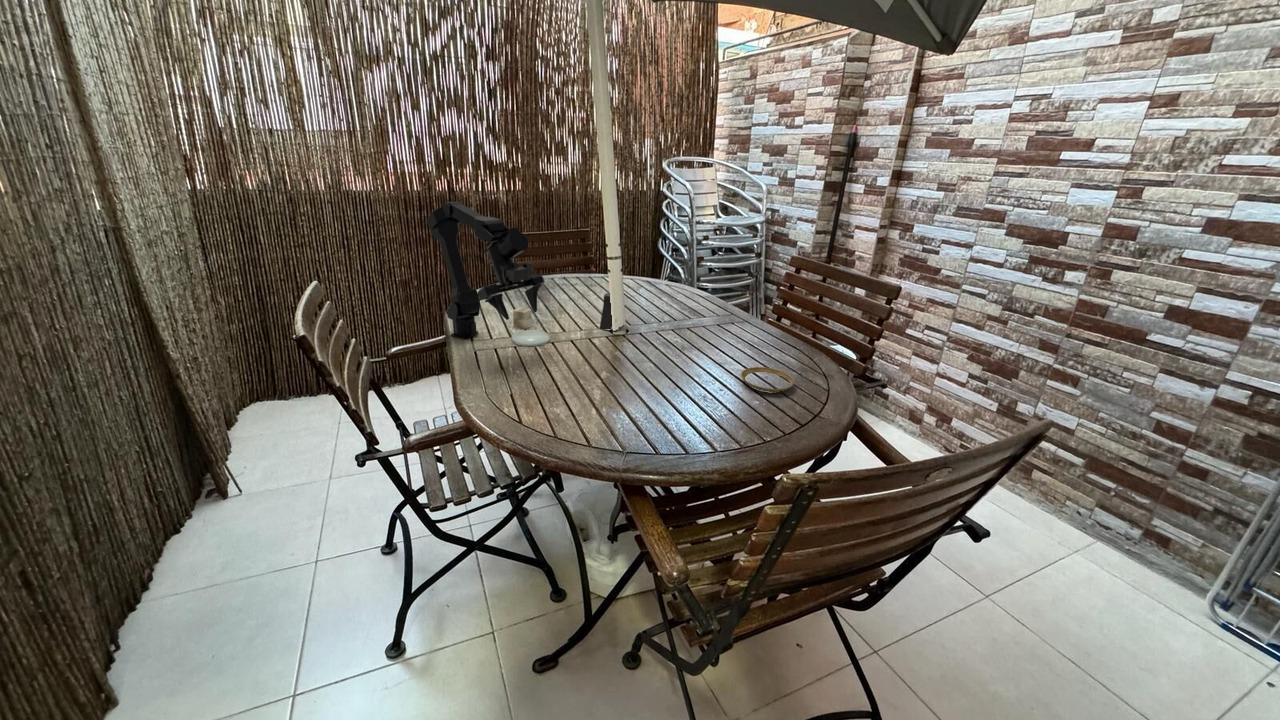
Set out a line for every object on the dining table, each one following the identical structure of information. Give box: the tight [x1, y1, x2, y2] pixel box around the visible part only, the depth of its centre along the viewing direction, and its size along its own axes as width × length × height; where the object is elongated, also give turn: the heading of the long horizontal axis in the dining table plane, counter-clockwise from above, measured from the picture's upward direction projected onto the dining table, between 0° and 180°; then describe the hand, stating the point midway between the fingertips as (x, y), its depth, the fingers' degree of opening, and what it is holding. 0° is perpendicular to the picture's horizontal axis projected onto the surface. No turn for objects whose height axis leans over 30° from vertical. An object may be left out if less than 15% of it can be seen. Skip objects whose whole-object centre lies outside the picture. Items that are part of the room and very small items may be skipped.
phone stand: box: [599, 293, 612, 330], centre depth 181 cm, size 9×6×12 cm, turn 161°
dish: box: [511, 329, 550, 347], centre depth 167 cm, size 12×12×1 cm
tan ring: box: [740, 366, 795, 392], centre depth 146 cm, size 15×15×3 cm
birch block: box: [512, 307, 533, 330], centre depth 178 cm, size 4×4×6 cm
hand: (522, 315), depth 145 cm, fingers open, 9 cm apart
